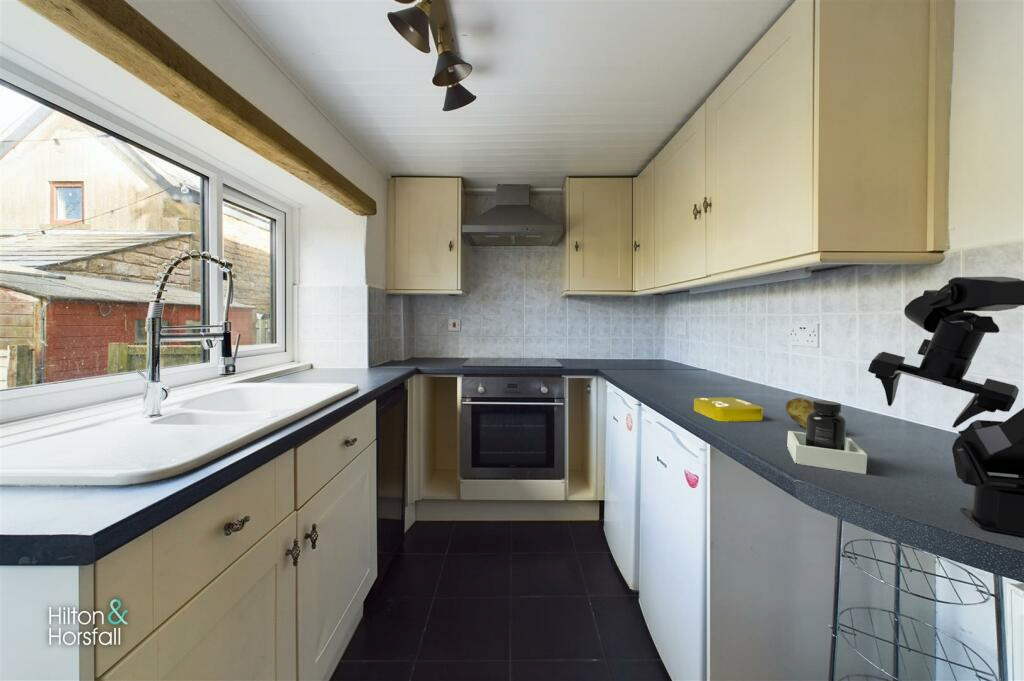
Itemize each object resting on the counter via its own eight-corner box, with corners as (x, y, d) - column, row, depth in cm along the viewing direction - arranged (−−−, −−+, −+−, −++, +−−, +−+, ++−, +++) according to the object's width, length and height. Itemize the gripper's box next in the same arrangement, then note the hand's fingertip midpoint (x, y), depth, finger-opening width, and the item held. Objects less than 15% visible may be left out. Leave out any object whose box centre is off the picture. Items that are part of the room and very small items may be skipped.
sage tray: (865, 474, 80) (867, 455, 80) (795, 463, 86) (796, 445, 85) (849, 455, 91) (850, 438, 90) (787, 446, 96) (788, 430, 96)
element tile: (765, 422, 119) (766, 406, 118) (718, 423, 117) (719, 407, 117) (733, 409, 134) (734, 395, 133) (691, 410, 132) (691, 396, 132)
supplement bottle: (852, 459, 85) (856, 405, 84) (827, 462, 83) (831, 407, 82) (820, 448, 92) (823, 398, 91) (797, 451, 90) (800, 399, 89)
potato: (818, 436, 104) (820, 406, 103) (779, 422, 117) (780, 396, 116) (845, 435, 105) (848, 406, 104) (804, 422, 118) (805, 395, 117)
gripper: (1041, 346, 68) (999, 419, 75) (897, 317, 81) (873, 381, 88) (1033, 370, 62) (988, 447, 69) (880, 335, 76) (855, 401, 83)
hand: (920, 415), depth 77 cm, fingers open, 9 cm apart
